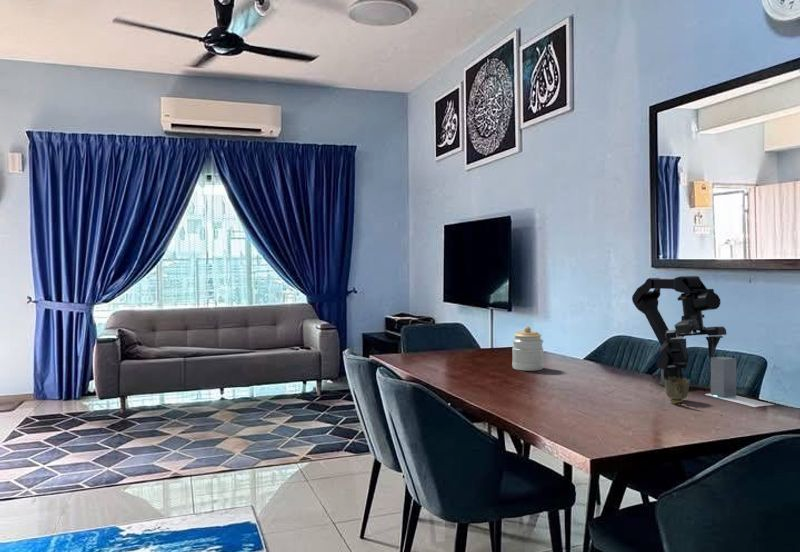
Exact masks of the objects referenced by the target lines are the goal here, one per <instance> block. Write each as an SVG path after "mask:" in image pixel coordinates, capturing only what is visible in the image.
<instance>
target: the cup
mask: <svg viewBox="0 0 800 552" xmlns="http://www.w3.org/2000/svg"><path fill="white" fill-rule="evenodd" d="M690 382H691V379H690V378H687V377H684V376H683V378H682V379H681V378H680V377H679V378H678V379H677V378H676V377H675V376H673V377H672V378H671V377H670V376H669V377H668V379H666V378H664V384H665V387H664V390H665V394H666V396H667V397H668V398H669V399H670V403H671V404H672V405H677V406H679V405H682V404H683V402H684V399H686V398H687V397H688V395H689V390H690V389H689V388H690Z"/></svg>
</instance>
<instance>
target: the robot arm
mask: <svg viewBox="0 0 800 552" xmlns="http://www.w3.org/2000/svg"><path fill="white" fill-rule="evenodd" d="M651 289H652V290H651ZM661 289H666V290H667V289H668V290H674V291H675V292H678V293H680V295H679V296H678V297H677V301H681V304H682V312H683V313H682V314H683V315H681V320H680V321H679V322H677V323H675V324H674V326H673V327H674V329H669V327H668V326H667V324H666V322H665V319H664V318H663V316H662V315H661V314H662V313H661V312H660V311H659V309H658V308H659V307H658V306H659V300H658V299H659V298H660V296H661ZM631 300H632V303H633V305H634V307H636V309H637V310H638V311H639V312H641V313H642V314H644V316H645V318H646V319H647V321H648V324H649V325H650V327H651V329H652V331H653V333H654V335H655V337H656V339H657V341H658V344H659V345H660V349H659V355H660V356H659V358H658V359H657V361H656V362H655V363H656V364H655V365H656V368H657V369H660V382H658V383H659V384H660V385H661V386H663V387H664V388H665V384H664V378H666V379H668V377H669V376H670V377H671V378H672V377H673V376H675V377H676V378H677V379H678V378H679V377H680V378H681V379H682V378H683V377H684V372H683V369H684V370H685V369H687V366H688V365H687V364H688V361H689V353H688V351H689V350H688V349H687V338H684V337H688V336H689V337H690V336H702V335H703V336H704V335H707V336H705V339H706V341H707V346H708V347H707V349H708V355H709V358H710V359H711V357H714V354H715V351H716V349H717V346H718V344H719V342H720V340H721V338H724V336H726V335H727V334H728V333H727V329H726V327H724V326H710V327H709V326H707V327H706V326H704V320H703V319H704V318H705V314H703V312H705V311H711V310H712V311H713V310H717V309H718V308H719V307H720V306H721V298H720V297H719V295H718V294H717V293H716V292H715V290H714V288H707V287H706V285H705V284H704V283H703V281H702V280H701V278H700V276H698V275H681V276H676V277H674V278H661V277H649V278H647V279H646V280H645V282H644V283H643V284H642V285H640V286H639V287H637V288H636V290H635V291H634V293H633V295H632V297H631Z"/></svg>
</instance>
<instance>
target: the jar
mask: <svg viewBox="0 0 800 552" xmlns="http://www.w3.org/2000/svg"><path fill="white" fill-rule="evenodd" d="M513 336H514V338H513V339H512V340H511V341H512V343H513V345H512V348H511V349H512V362H511V363H512V364H511V366H512V369H514V370H517V371H524V372H525V371H526V372H527V371H528V372H531V371H533V372H534V371H540V370H543V369H544V347H543V343H544V339H542V338H541V337H542V334H541V333H540V332H538V331H532V328H531V327H530V326H525V327H524V330H523V331H517V332H516V333H515V334H514V335H513Z"/></svg>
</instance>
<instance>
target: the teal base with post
mask: <svg viewBox="0 0 800 552" xmlns="http://www.w3.org/2000/svg"><path fill="white" fill-rule="evenodd" d="M710 394H711V393H710ZM711 395H712V394H711ZM713 396H715V397H714V398H717V397H720V396H716V395H712V396H711V397H713ZM736 396H737V395H736ZM736 396H732V397H720V398H719V399H721V398H735V397H736Z"/></svg>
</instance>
